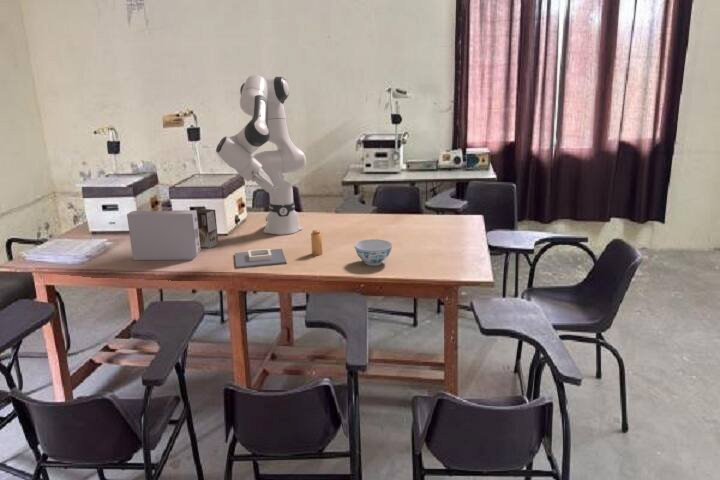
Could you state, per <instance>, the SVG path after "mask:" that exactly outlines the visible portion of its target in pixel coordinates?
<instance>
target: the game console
mask: <svg viewBox="0 0 720 480" xmlns="http://www.w3.org/2000/svg"><path fill="white" fill-rule="evenodd" d="M126 218H127V224H128V225H127V226H128V232H129V233H128V234H129V239H130V246H131V247H130V249H131V254H132V255H131V256H132V260H133V261H163V260H164V261H166V260H167V261H168V260H169V261H173V260H174V261H177V260H179V261H181V260H193V259H194V258H195V257H196V256H197V255H198V254H199V253H200V251H201V247H200V240H199V230H198V220H197V211H196V209H194V210H192V209H191V210H186V209H185V210H178V209H176V210H157V211H156V210H155V211H154V210H151V211H150V210H149V211H148V210H145V211H140V210H139V211H138V210H133V211H130V212H128V213H127V214H126Z"/></svg>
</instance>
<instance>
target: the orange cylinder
mask: <svg viewBox="0 0 720 480" xmlns="http://www.w3.org/2000/svg"><path fill="white" fill-rule="evenodd" d="M310 235H311V236H310V237H311V238H310V239H311V255H312V256H315V257H317V256H321V255H323V234H322V232H321V230H319V229H314V230H312V233H310Z"/></svg>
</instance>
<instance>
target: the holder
mask: <svg viewBox="0 0 720 480" xmlns="http://www.w3.org/2000/svg"><path fill="white" fill-rule="evenodd" d="M234 260H235V267H236V269H242V268H243V269H244V268H253V267H264V266H276V265H277V266H278V265H287V264H288V263H287V258H286V257H285V254H284V251H283V249H282V248H277V249H270V248H262V249H261V248H259V249H250V250H249V249H248V250H247V251H243V252H241V251H240V252H234Z"/></svg>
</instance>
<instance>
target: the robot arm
mask: <svg viewBox="0 0 720 480" xmlns="http://www.w3.org/2000/svg"><path fill="white" fill-rule="evenodd" d="M239 92H240V93H239V94H240V97H239V107H240V109H241V110H242V112H244V113H245V114H247V115H248V116H250V117H251V120H249V122H248V123H247V124H246V125H245V126H244V127H243V128H242V129H240V131H239V132H238V133H236V134H235V135H232V136H224V137H223V138H221V140H219V141H220V142H218V144H217V146H216V149H215V150H216V154H217V155H218V157H219V158H220V159H221V160H222V161H223V162H224V163H225V164H226V165H227V166H229V167H230V168H233V169H234V170H235V171H236V173H237V174H238V175H240V177H242V178H243V179H244V180H245V181H247V182H250V181H252V183H254V182H255V183H256V184H257V185H258V186H259V187H260V188H262V189H263V190H264V191H265V192H266V193H268V194H269V203H268V204H269V206H268V208H269V212H268V214H267V216H265V222H266V225H265V227H264V229H263V233H264V234H265V233H266V234H271V235H277V236H278V235H282V236H283V235H290V234H295V233H297V232H299V231H303V229H304V226H301V225H300V221H299V219H300V218H299V214H298V213H299V212H298V211H296V210H295V209H296V206H295V201H294V192H293V191H294V190H293V186H292V184H291V183H290V182H289V181H286V180H284V179H281V174H291V173H297V172H300V171H302V170H304V168H305V167H306V164H307V157H306V155H305V153H304V151H302V150H301V149H300V148H299V147H297V146H296V145H295V144H294V143H293V141H292V139H291V137H290V135H289V128H288V124H287V115H286V110H285V107H284V104H285V101H286V100H287V99H288V97H289V94H290V87H289V83H288V81H287V79H285V78H284V77H283V76H274V77H273V76H272V77H271V76H270V77H263V76H261V75H259V74H252V75H250V76H249V77H247V78H246V80H245V82H243V83H242V85H241V86H240V90H239ZM268 142H269V143H272V144H274V145H276V147H277V150H266V151H261V152H258V153H255V152H256V151H257V150H258V149H259V148H260V147H262V146H263V145H265V144H266V143H268ZM254 153H255V154H254ZM252 154H254V155H253V156H252Z"/></svg>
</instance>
